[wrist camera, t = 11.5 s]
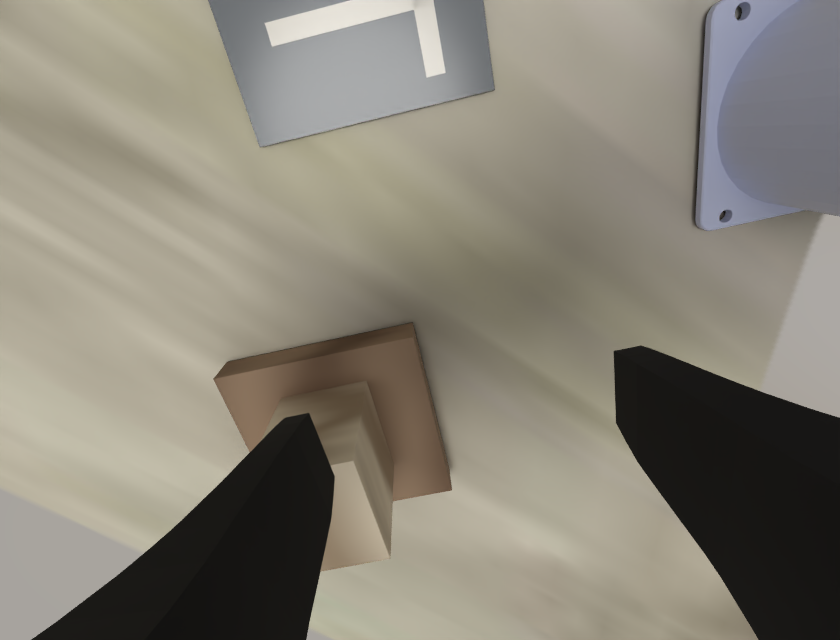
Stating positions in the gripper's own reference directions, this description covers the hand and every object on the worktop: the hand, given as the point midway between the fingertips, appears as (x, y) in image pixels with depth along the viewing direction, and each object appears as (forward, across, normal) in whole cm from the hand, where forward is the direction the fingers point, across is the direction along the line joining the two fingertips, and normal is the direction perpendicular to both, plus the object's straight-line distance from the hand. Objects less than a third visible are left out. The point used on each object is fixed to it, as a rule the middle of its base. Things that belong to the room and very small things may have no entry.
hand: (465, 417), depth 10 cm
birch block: (+8, +6, +6) cm, 11 cm away
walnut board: (+9, +6, +6) cm, 13 cm away
